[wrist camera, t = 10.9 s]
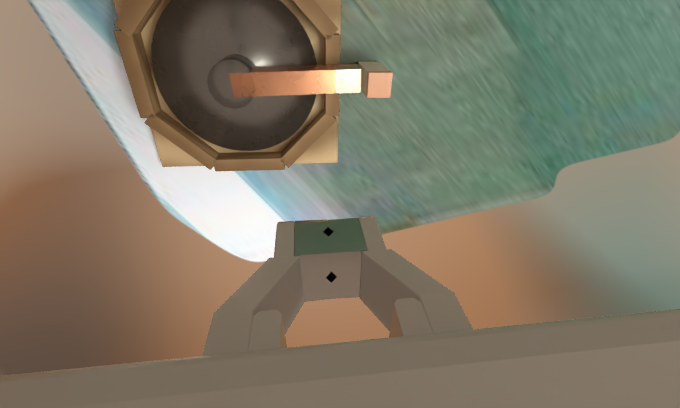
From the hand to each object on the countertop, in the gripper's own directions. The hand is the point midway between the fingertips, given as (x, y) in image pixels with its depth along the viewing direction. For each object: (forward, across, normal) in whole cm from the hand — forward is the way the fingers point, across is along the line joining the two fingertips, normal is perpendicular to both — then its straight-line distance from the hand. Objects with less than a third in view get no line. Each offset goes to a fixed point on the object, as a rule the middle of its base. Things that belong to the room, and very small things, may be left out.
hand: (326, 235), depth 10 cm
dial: (+30, +5, +1) cm, 31 cm away
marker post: (+32, -7, +2) cm, 33 cm away
